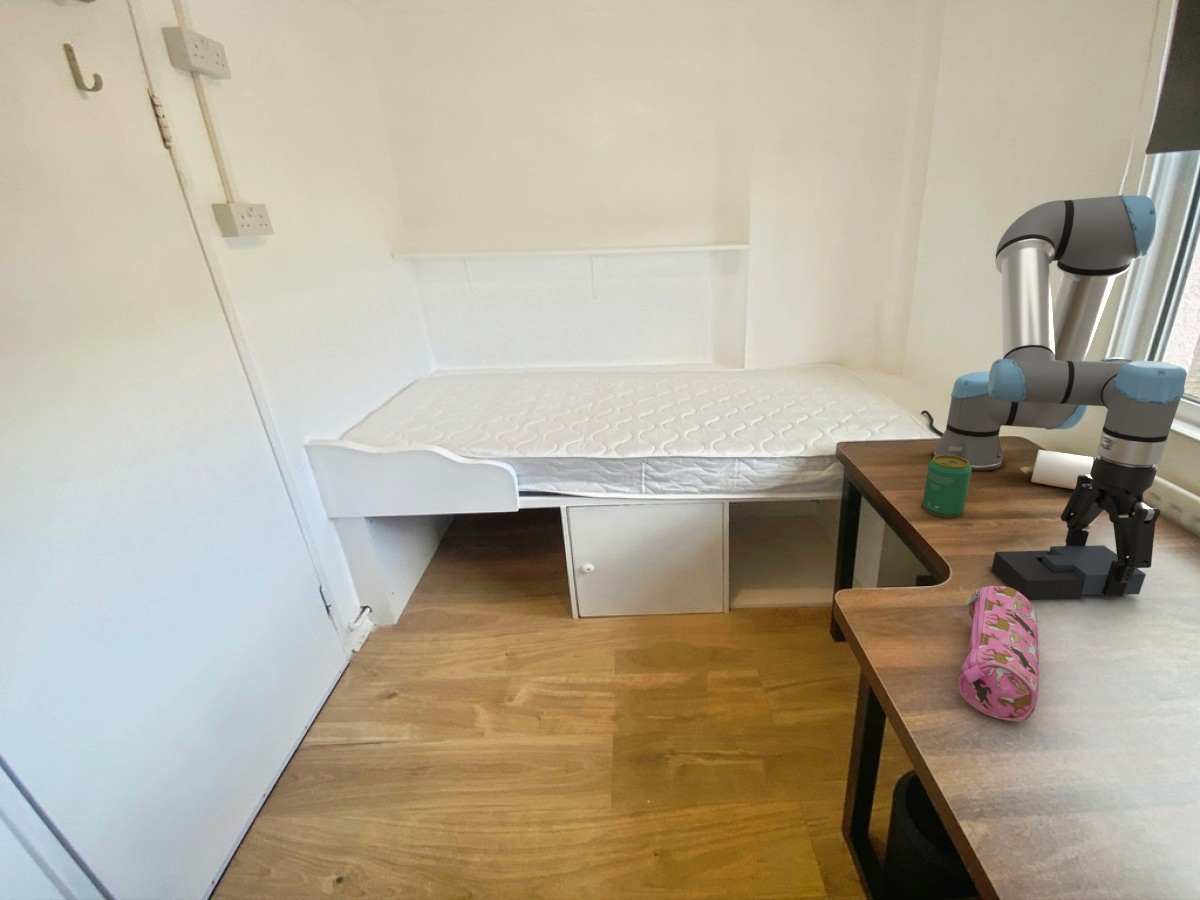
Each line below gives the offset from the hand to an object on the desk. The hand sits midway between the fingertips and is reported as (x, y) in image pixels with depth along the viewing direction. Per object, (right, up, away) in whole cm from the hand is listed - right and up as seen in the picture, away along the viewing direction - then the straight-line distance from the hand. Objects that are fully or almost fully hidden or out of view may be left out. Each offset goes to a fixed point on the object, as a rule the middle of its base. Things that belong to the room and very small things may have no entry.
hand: (1090, 577), depth 96 cm
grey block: (-2, 0, 0) cm, 2 cm away
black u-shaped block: (-9, -1, +1) cm, 9 cm away
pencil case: (-29, -10, -16) cm, 34 cm away
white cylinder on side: (+24, +15, +36) cm, 45 cm away
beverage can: (-9, +9, +28) cm, 30 cm away
